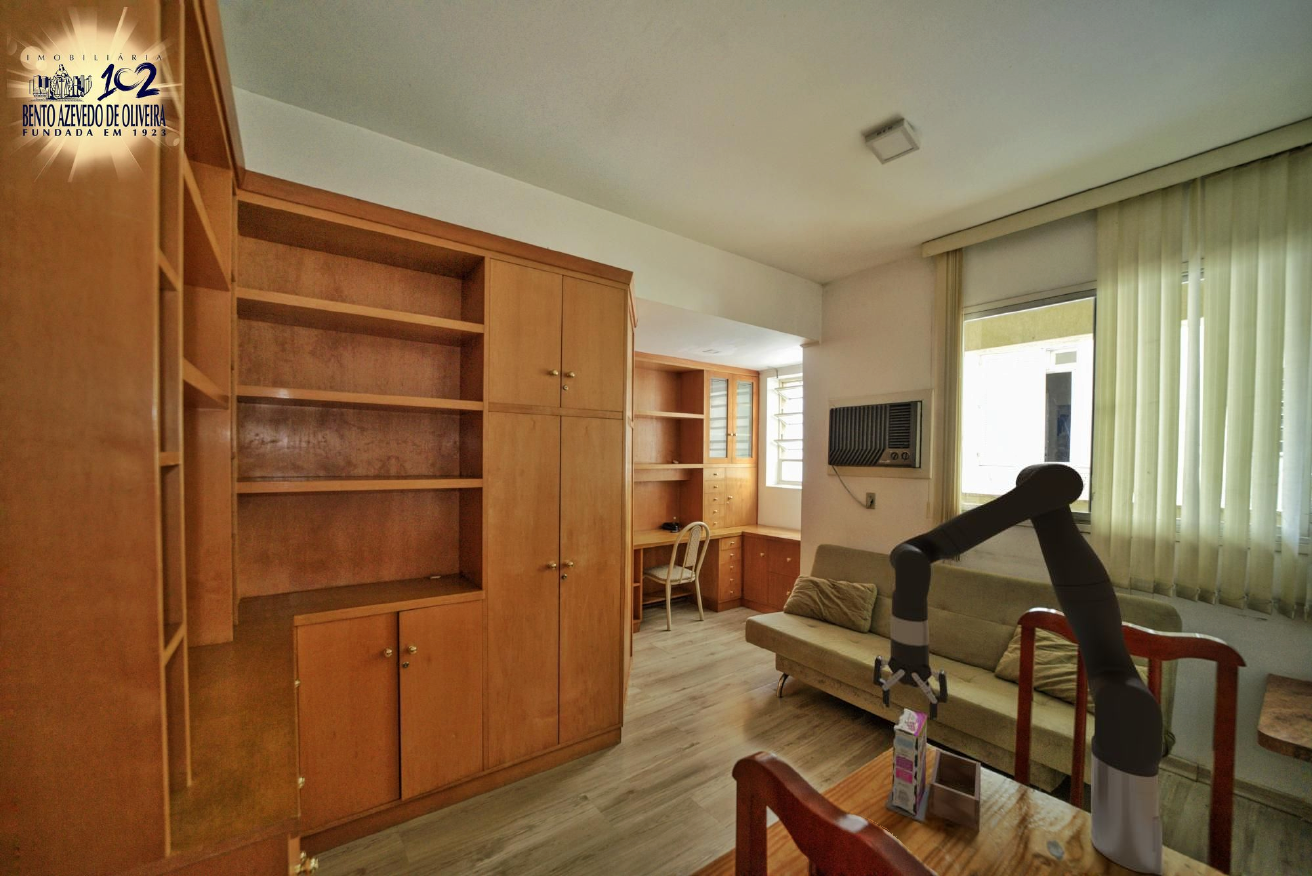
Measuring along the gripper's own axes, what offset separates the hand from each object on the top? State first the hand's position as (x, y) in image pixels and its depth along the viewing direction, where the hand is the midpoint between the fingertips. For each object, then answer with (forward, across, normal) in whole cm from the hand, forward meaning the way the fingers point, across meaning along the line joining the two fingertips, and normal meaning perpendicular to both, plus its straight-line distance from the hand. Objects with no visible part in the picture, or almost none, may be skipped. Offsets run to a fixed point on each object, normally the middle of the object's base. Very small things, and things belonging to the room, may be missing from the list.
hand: (909, 712), depth 106 cm
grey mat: (+19, 0, 0) cm, 19 cm away
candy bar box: (+18, 0, 0) cm, 18 cm away
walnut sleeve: (+19, -8, -6) cm, 21 cm away
